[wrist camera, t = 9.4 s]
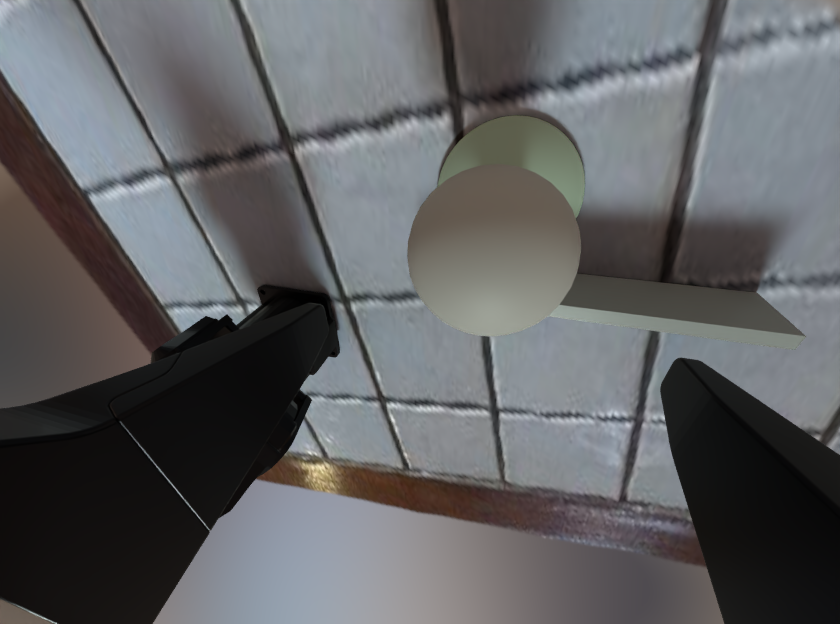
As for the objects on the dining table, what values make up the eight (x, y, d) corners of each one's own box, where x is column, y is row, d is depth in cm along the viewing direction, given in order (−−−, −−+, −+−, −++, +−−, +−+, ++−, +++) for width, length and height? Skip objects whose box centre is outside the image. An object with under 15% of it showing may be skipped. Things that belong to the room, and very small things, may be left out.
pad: (437, 254, 22) (436, 256, 22) (439, 115, 17) (438, 115, 17) (564, 267, 20) (564, 269, 20) (604, 115, 16) (605, 115, 15)
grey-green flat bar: (436, 269, 22) (421, 299, 19) (437, 258, 22) (421, 287, 19) (748, 304, 18) (794, 350, 15) (756, 292, 18) (806, 336, 15)
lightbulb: (496, 110, 16) (455, 132, 8) (589, 185, 17) (650, 285, 8) (431, 209, 20) (352, 301, 11) (510, 267, 21) (493, 398, 12)
